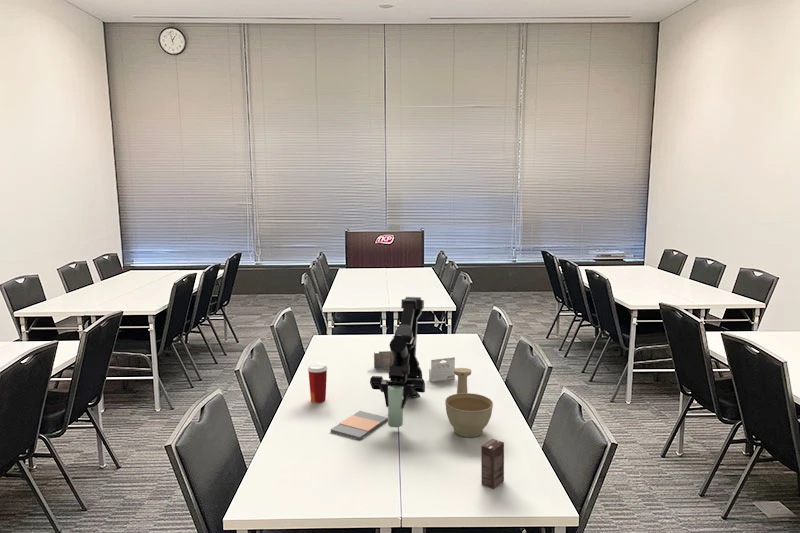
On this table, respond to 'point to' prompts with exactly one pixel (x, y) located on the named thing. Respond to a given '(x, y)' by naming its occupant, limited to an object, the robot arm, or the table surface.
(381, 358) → the architectural model on board
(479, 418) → the planter bowl
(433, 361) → the ink cartridge box
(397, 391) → the green cylinder
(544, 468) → the table surface
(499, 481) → the box
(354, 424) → the grey orange flat block
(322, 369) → the paper cup
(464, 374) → the handle
